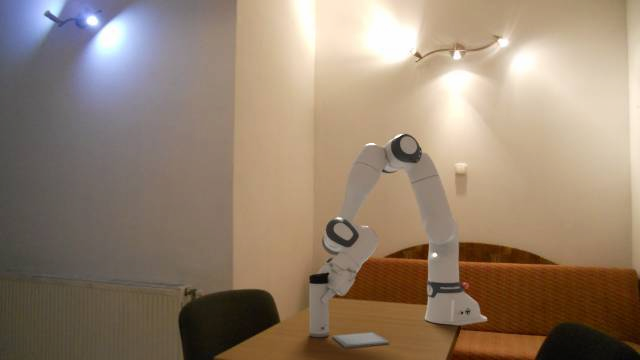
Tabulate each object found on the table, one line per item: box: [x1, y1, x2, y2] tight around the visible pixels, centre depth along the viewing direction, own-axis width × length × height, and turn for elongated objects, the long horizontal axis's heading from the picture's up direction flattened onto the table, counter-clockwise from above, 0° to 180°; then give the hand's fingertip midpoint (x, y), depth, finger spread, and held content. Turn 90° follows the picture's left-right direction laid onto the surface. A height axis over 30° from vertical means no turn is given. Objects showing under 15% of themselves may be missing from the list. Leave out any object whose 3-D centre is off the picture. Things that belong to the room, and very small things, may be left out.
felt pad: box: [331, 331, 390, 349], centre depth 141 cm, size 14×12×1 cm
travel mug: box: [308, 272, 330, 338], centre depth 149 cm, size 6×7×20 cm
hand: (317, 299), depth 149 cm, fingers closed on travel mug, 6 cm apart
